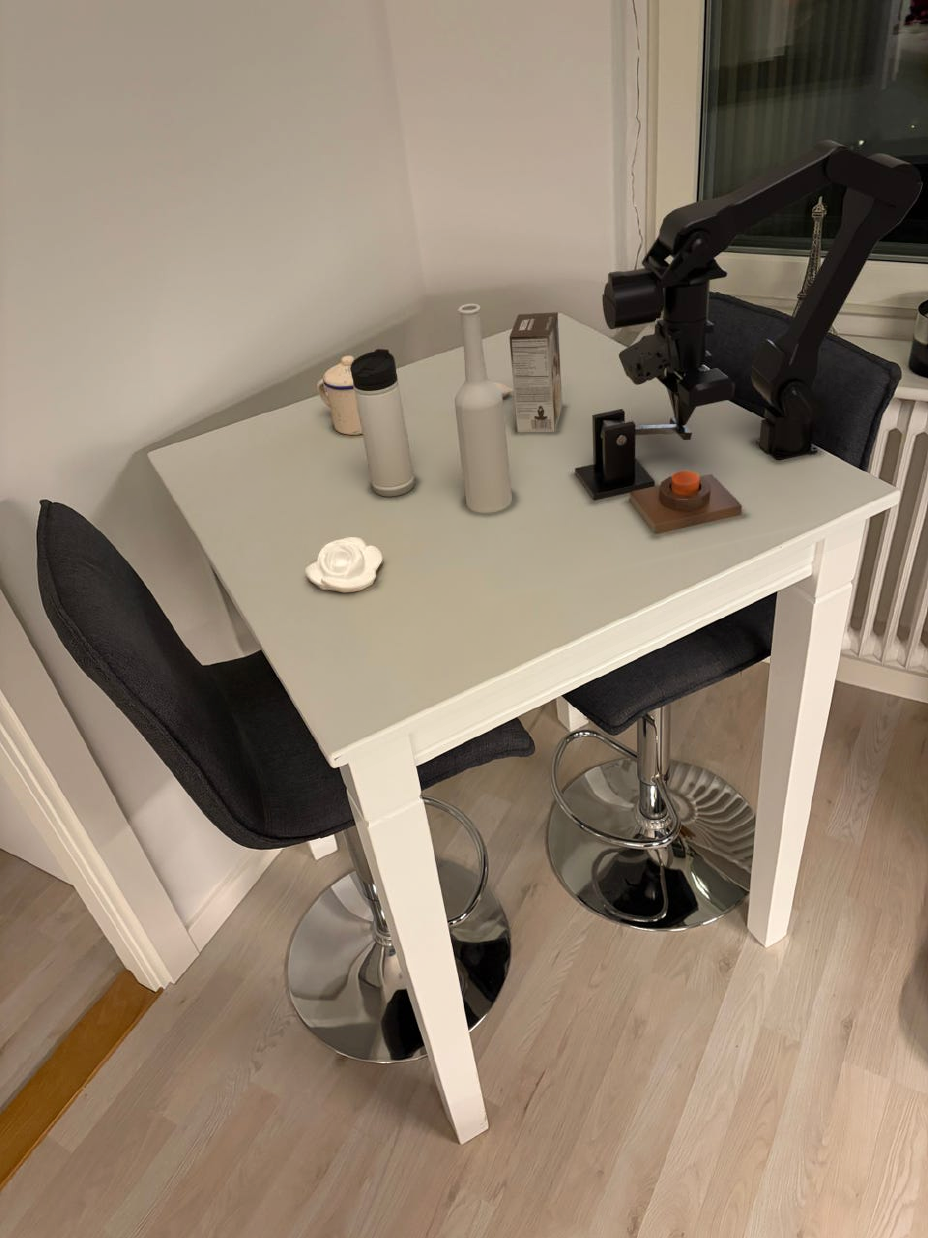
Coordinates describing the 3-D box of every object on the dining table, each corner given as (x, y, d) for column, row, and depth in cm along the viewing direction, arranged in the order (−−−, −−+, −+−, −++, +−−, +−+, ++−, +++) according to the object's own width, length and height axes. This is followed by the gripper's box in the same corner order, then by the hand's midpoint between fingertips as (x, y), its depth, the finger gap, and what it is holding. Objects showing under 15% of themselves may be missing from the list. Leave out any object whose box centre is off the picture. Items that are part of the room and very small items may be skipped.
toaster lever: (675, 428, 133) (678, 413, 131) (689, 444, 129) (693, 428, 127) (596, 431, 130) (599, 415, 128) (609, 447, 126) (612, 431, 125)
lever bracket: (633, 462, 136) (634, 400, 130) (654, 488, 130) (656, 424, 124) (575, 475, 135) (572, 413, 129) (593, 502, 129) (592, 438, 123)
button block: (711, 484, 129) (712, 461, 127) (741, 516, 122) (743, 493, 120) (629, 502, 128) (629, 480, 126) (655, 535, 121) (655, 512, 119)
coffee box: (524, 407, 154) (517, 312, 144) (563, 407, 153) (558, 310, 143) (516, 433, 147) (508, 335, 137) (556, 433, 146) (551, 334, 136)
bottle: (488, 484, 136) (468, 294, 118) (521, 498, 132) (506, 303, 114) (456, 504, 132) (431, 311, 115) (489, 519, 128) (469, 321, 111)
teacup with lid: (397, 415, 157) (386, 349, 150) (366, 439, 151) (353, 372, 144) (340, 406, 162) (327, 341, 155) (308, 429, 156) (293, 363, 149)
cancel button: (692, 480, 125) (692, 468, 124) (703, 492, 122) (704, 481, 121) (666, 485, 124) (667, 474, 123) (677, 498, 122) (678, 487, 120)
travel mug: (423, 477, 139) (403, 349, 127) (403, 499, 135) (380, 369, 123) (386, 472, 142) (364, 346, 129) (365, 494, 137) (340, 366, 125)
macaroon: (485, 392, 160) (484, 379, 159) (514, 391, 159) (513, 377, 158) (482, 404, 157) (481, 390, 155) (512, 402, 156) (510, 389, 154)
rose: (364, 516, 124) (389, 551, 117) (370, 544, 127) (394, 580, 119) (292, 539, 121) (313, 577, 114) (300, 567, 124) (321, 605, 117)
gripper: (601, 303, 126) (603, 409, 136) (654, 353, 112) (652, 467, 121) (678, 288, 127) (674, 393, 137) (740, 335, 113) (732, 449, 123)
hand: (681, 424), depth 129 cm, fingers closed, pressing on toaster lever
